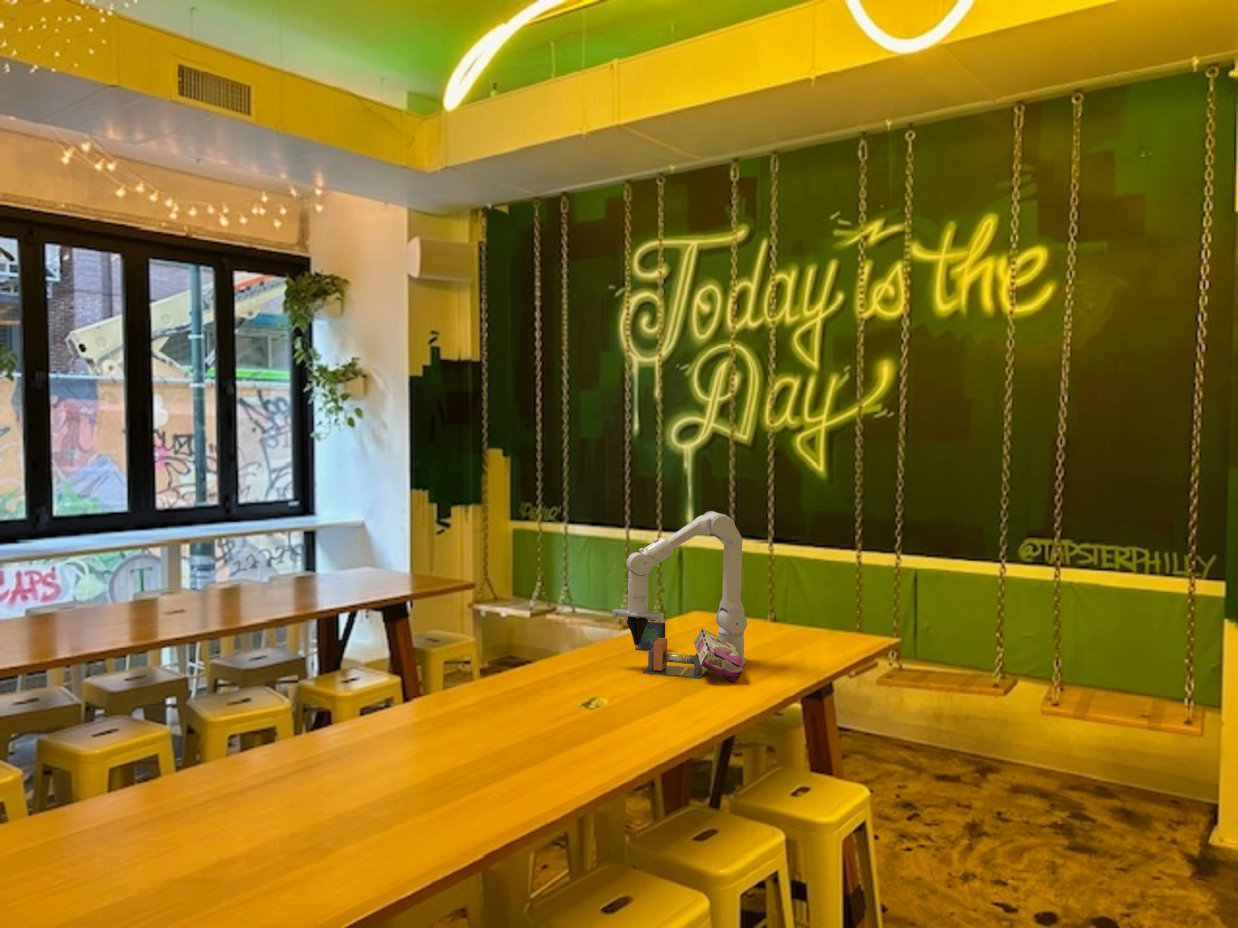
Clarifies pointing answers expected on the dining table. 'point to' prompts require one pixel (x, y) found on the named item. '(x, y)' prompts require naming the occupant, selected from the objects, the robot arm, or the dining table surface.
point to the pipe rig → (677, 670)
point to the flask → (651, 634)
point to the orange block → (659, 654)
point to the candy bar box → (718, 655)
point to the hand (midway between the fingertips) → (637, 644)
